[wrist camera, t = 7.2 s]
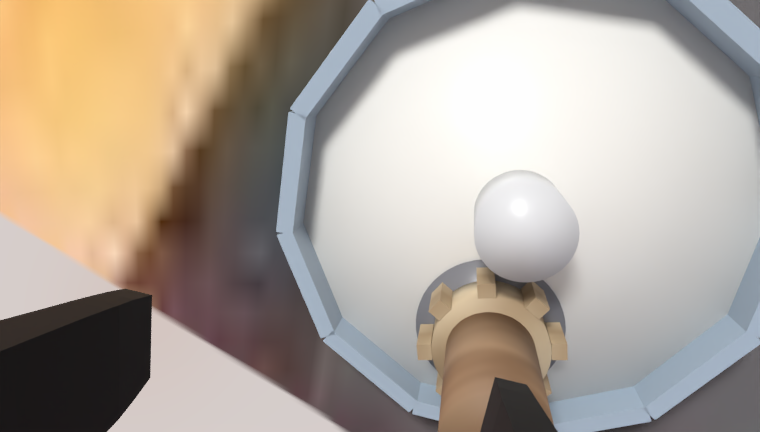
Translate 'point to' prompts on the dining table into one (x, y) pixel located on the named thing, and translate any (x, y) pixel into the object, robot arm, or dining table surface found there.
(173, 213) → the dining table surface
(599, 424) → the carrier plate
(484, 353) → the gear
